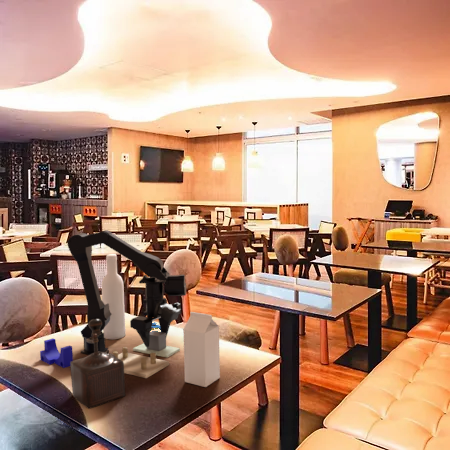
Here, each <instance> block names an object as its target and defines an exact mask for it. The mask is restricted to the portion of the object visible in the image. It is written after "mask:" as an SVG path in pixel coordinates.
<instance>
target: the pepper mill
mask: <svg viewBox="0 0 450 450" xmlns="http://www.w3.org/2000/svg"><path fill="white" fill-rule="evenodd" d="M87 325H89V328H90V329H91V330H92V337H90V338H88V339H86V342H88V343H94V353H92V354H90V355H88V354H87V356H84V357H81V358H79V359H73V361H71V363H70V364H71V366H70V376H71V377H70V378H71V379H70V380H71V389H72V393H71V394H72V396H73V398H74V399H75V400H77V402H79V404H82V405H83V406H85V407H86V408H87V409H92V408H96V407H99V406H102V405H104V404H107V403H111V402H113V401H115V400H119V399H121V398H124V397H126V392H125V389H126V388H125V373H124V363H123V361H122V360H120V359H118V358H117V357H115V355H113V354H112V353H111V352H110V349H108V350H106V351H104V352H100V351H98V339H97V338H98V336H99V335H101V334H102V333H101V331H100V328H101V326H102V321H101V320H100V319H92V320H91V321H90V322H89V324H88V323H87Z"/></svg>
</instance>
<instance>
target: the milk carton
mask: <svg viewBox="0 0 450 450" xmlns="http://www.w3.org/2000/svg"><path fill="white" fill-rule="evenodd" d="M182 329H183V358H184V359H183V360H184V361H183V364H184V367H183V369H184V382H185V383H188V384H192V385H195V386H199V387H203V388H207V387H208V386H210V385H211V384H213V383H215V382H216V381H218V379H220V378H221V369H220V368H221V366H220V359H221V358H220V326H219V325H218V324H217V322H215V320H214V319H213V315H212V314H207V313H201V312H195V311H190V316H189V318H188V320H187V322H186V323H185V324H184V327H183V328H182Z"/></svg>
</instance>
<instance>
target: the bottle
mask: <svg viewBox="0 0 450 450" xmlns="http://www.w3.org/2000/svg"><path fill="white" fill-rule="evenodd" d="M105 260H106V274H105V276H104V277H103V278H102V281H101V300H102V302H103V303H104V304H109V310H110V312H111V314H112V315H111V316H110V321H109V323H108V324H107V325H106V326H105V327H104V329H103V330H102V332H103V333H104V338H105V340H118V339H119V340H120V339H122V338H124V337H125V336H126V315H125V314H126V313H125V312H126V311H125V292H124V290H125V289H124V288H125V287H124V284H125V283H124V280H123V277H122V276H121V275H120V274H118V261H117V260H118V256H117V254H115V253H110V254H109V253H108V254H106V257H105Z"/></svg>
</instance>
